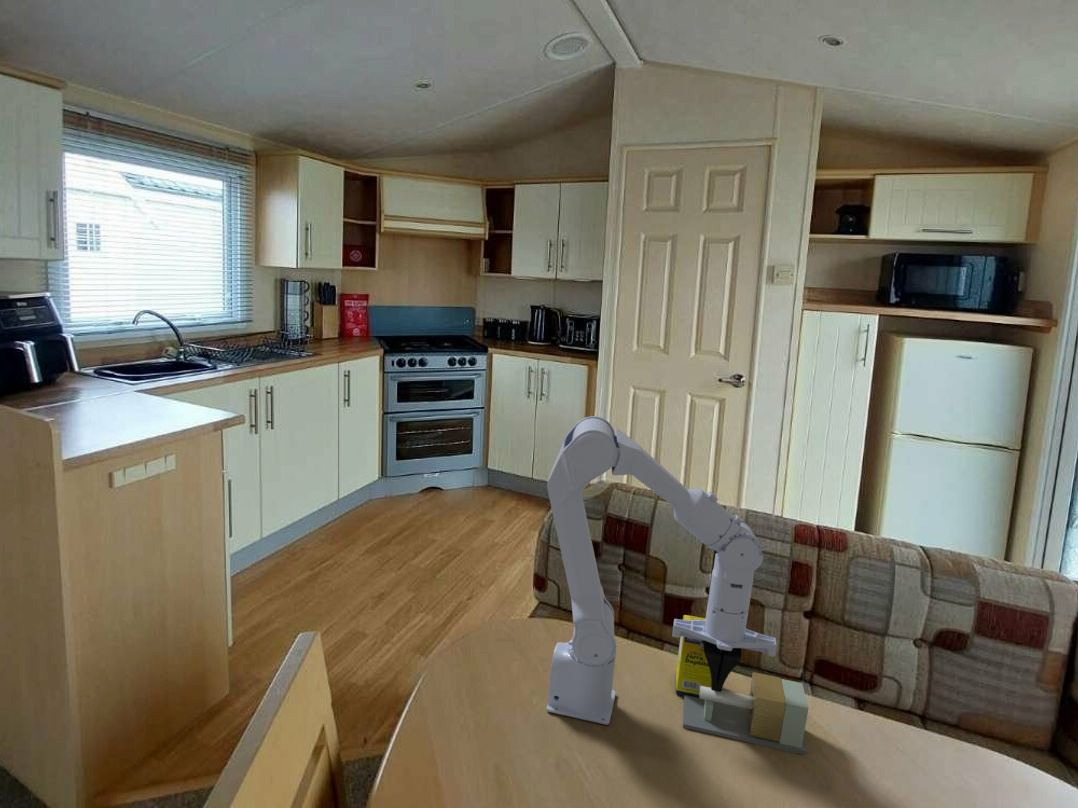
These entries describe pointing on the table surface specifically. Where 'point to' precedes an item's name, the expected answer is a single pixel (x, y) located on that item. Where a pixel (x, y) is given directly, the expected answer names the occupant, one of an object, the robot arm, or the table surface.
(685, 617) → the supplement box
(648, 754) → the table surface
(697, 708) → the shaft rig
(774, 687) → the block
